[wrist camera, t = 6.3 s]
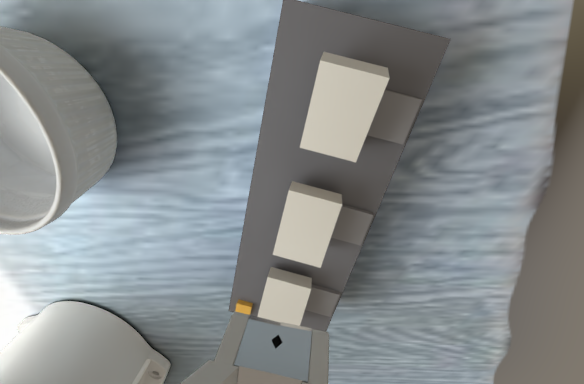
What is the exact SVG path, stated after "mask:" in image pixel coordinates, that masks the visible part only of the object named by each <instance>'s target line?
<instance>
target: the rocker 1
mask: <svg viewBox="0 0 584 384" xmlns="http://www.w3.org/2000/svg"><path fill="white" fill-rule="evenodd" d="M341 207H342V194H339V193H335V192H331V191H327V190H324V189H320V188H316V187H312V186H309V185H305V184H301V183H298V182H294V181H292V183H291V185H290V188H289V191H288V195H287V199H286V203H285V207H284V211H283V215H282V219H281V223H280V227H279V231H278V235H277V239H276V243H275V247H274V251H273V255H276V256H279V257H283V258H286V259H290V260H294V261H297V262H301V263H305V264H308V265H312V266H315V267H319V268H321V265H322V262H323V259H324V256H325V254H326V251H327V248H328V245H329V242H330V239H331V236H332V233H333V230H334V227H335V224H336V221H337V218H338V215H339V212H340V210H341Z"/></svg>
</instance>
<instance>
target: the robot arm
mask: <svg viewBox="0 0 584 384" xmlns="http://www.w3.org/2000/svg"><path fill="white" fill-rule="evenodd" d="M17 331H18V332H19V333H18V334H17V335H16V336H15V337H14V339H13V340H12V341H11V342H10V343H9V344H8V345H7V346H6V347H5V348H4V349H3V350H2V351H1V352H0V384H164V381H165V379H166V376H167V374H168V371H169V369H170V366H171V364H170V362H169V361H168V360H167V359H166V358H165V357H164V356H162V355H161V354H160V353H158V352H157V351H155V350H154V349H152V348H151V347H150V346H149V345H148V344H147V342H146V341H145V340H144V339H143V338H142V336H141V335H140V334H139V333H138V332H137V331H136V330H135V329H134V328H133V327H131V326H130V325H129V324H128V323H126V322H125V321H123V320H122V319H120V318H119V317H117V316H115V315H114V314H112V313H110V312H108V311H106V310H103V309H101V308H98V307H96V306H93V305H89V304H86V303H81V302H74V301H61V302H56V303H52V304H50V305H48V306H47V307H45V308H44V309H43V310H42V311H41V313H40V314H38V315H36V316H30V317H27V318H24V319H23V320H22V321H21V322H20V323H19V324H18V326H17ZM328 366H329V334H328V332H324V331H320V330H315V329H312V328H308V327H303V326H298V325H293V324H288V323H284V322H281V323H280V322H276V321H272V320H268V319H264V318H260V317H256V316H252V315H248V314H244V313H240V312H235V311H234V313H233V314H232V316H231V318H230V321H229V323H228V326H227V329H226V331H225V334H224V336H223V339H222V341H221V344H220V347H219V349H218V352H217V354H216V357H215V359H214V361H212V360H208V361H207V362H206V363H205V364H203V365H202V366H201V367H200V368H199V369H197V370H196V371H195V372H194V373H192V374H191V375H190V376H189V377H188V378H186V379H185V380H184V381H183V382H181V383H180V384H328Z"/></svg>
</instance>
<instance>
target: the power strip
mask: <svg viewBox="0 0 584 384" xmlns="http://www.w3.org/2000/svg"><path fill="white" fill-rule="evenodd" d="M449 41H450V39H448V38H444V37H440V36H436V35H432V34H428V33H424V32H420V31H416V30H412V29H409V28H405V27H401V26H397V25H393V24H389V23H385V22H381V21H377V20H373V19H369V18H365V17H361V16H357V15H353V14H349V13H345V12H341V11H337V10H333V9H329V8H325V7H321V6H317V5H313V4H309V3H305V2H301V1H297V0H283V4H282V10H281V16H280V21H279V27H278V33H277V38H276V44H275V50H274V55H273V61H272V67H271V73H270V78H269V84H268V90H267V95H266V101H265V107H264V112H263V118H262V124H261V129H260V135H259V141H258V147H257V152H256V158H255V164H254V169H253V175H252V181H251V186H250V192H249V198H248V203H247V209H246V215H245V221H244V226H243V232H242V238H241V243H240V249H239V255H238V260H237V266H236V272H235V277H234V283H233V289H232V295H231V300H230V306H229V311H231V312H234V311H235V312H240V313H244V314H248V315H252V316H256V317H257V316H258V312H259V308H260V304H261V300H262V296H263V293H264V289H265V285H266V281H267V277H268V274H269V271H270V268H271V267H274V268H277V269H281V270H285V271H288V272H292V273H295V274H299V275H303V276H306V277H310V278H312V284H311V291H310V295H309V298H308V301H307V305H306V308H305V311H304V314H303V318H302V321H301V324H300V326H303V327H308V328H312V329H315V330H320V331H324V332H326V330H327V328H328V325H329V323H330V321H331V318H332V316H333V314H334V311H335V309H336V307H337V304H338V302H339V300H340V297H341V295H342V293H343V290H344V288H345V286H346V283H347V281H348V278H349V276H350V274H351V271H352V269H353V267H354V264H355V262H356V260H357V257H358V255H359V253H360V250H361V248H362V246H363V243H364V241H365V239H366V236H367V234H368V232H369V229H370V227H371V224H372V222H373V220H374V217H375V215H376V213H377V210H378V208H379V206H380V203H381V201H382V199H383V196H384V194H385V192H386V189H387V187H388V185H389V182H390V180H391V178H392V175H393V173H394V170H395V168H396V166H397V163H398V161H399V159H400V156H401V154H402V152H403V149H404V147H405V145H406V142H407V140H408V138H409V135H410V133H411V131H412V128H413V126H414V123H415V121H416V119H417V116H418V114H419V112H420V109H421V107H422V105H423V102H424V100H425V98H426V95H427V93H428V91H429V88H430V86H431V84H432V81H433V79H434V77H435V74H436V72H437V69H438V67H439V65H440V62H441V60H442V58H443V55H444V53H445V51H446V48H447V46H448V44H449ZM323 52H328V53H332V54H335V55H339V56H343V57H347V58H351V59H355V60H359V61H363V62H367V63H371V64H375V65H379V66H383V67H386V68H388V72H389V77H390V78H389V81H388V83H387V86H386V88H385V91H384V93H383V96H382V98H381V101H380V103H379V106H378V108H377V111H376V113H375V116H374V118H373V121H372V123H371V126H370V128H369V131H368V133H367V136H366V138H365V141H364V143H363V146H362V148H361V151H360V153H359V156H358V158H357V161H356V162H352V161H348V160H345V159H341V158H337V157H333V156H330V155H326V154H322V153H318V152H314V151H311V150H307V149H303V148H300V144H301V140H302V135H303V131H304V127H305V123H306V118H307V114H308V110H309V106H310V101H311V97H312V93H313V89H314V84H315V80H316V76H317V72H318V67H319V63H320V59H321V57H322V55H323ZM292 181H294V182H298V183H301V184H305V185H309V186H312V187H316V188H320V189H324V190H327V191H331V192H335V193H339V194H342V207H341V210H340V212H339V215H338V218H337V221H336V224H335V227H334V230H333V233H332V236H331V239H330V242H329V245H328V248H327V251H326V254H325V256H324V259H323V262H322V265H321V268H319V267H315V266H312V265H308V264H305V263H301V262H297V261H294V260H290V259H286V258H283V257H279V256H276V255H273V251H274V247H275V243H276V239H277V235H278V231H279V227H280V223H281V219H282V215H283V211H284V207H285V203H286V199H287V195H288V191H289V188H290V185H291V183H292Z"/></svg>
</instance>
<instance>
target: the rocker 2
mask: <svg viewBox="0 0 584 384" xmlns="http://www.w3.org/2000/svg"><path fill="white" fill-rule="evenodd" d="M311 284H312V278H310V277H306V276H303V275H299V274H295V273H292V272H288V271H285V270H281V269H277V268H274V267H271V268H270V271H269V274H268V277H267V281H266V285H265V289H264V293H263V296H262V300H261V304H260V308H259V312H258V316H257V317H260V318H264V319H268V320H272V321H276V322H280V323H281V322H284V323H288V324H293V325H298V326H300V324H301V321H302V318H303V314H304V311H305V308H306V305H307V301H308V298H309V295H310V291H311Z"/></svg>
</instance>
